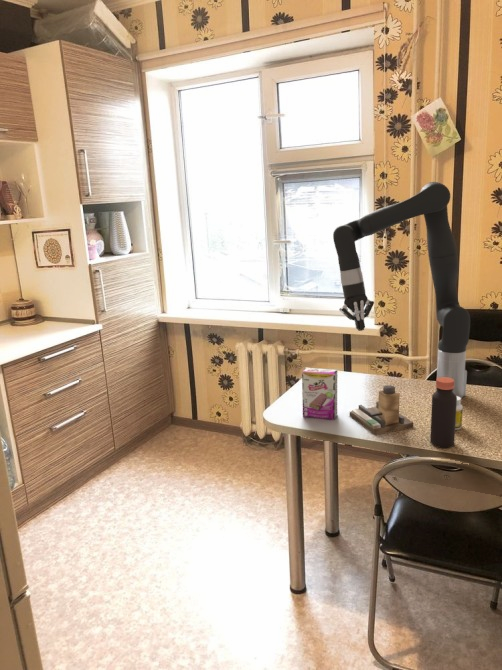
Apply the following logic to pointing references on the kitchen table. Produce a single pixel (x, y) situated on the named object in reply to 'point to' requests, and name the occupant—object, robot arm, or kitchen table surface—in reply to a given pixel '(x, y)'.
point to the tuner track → (378, 420)
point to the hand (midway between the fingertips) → (361, 330)
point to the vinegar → (443, 414)
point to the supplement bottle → (458, 414)
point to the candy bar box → (319, 393)
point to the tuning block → (388, 405)
